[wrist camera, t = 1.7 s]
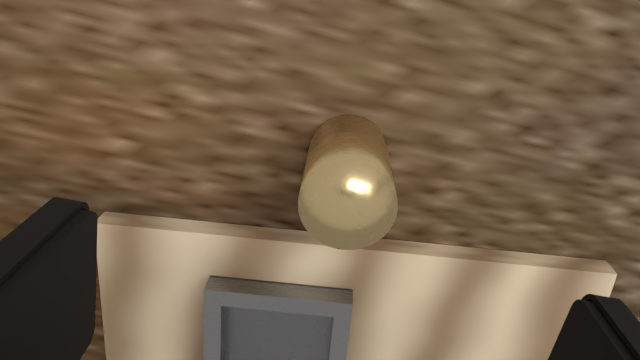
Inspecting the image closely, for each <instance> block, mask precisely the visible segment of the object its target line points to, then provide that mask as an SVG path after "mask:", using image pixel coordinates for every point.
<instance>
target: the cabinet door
mask: <svg viewBox="0 0 640 360" xmlns="http://www.w3.org/2000/svg"><path fill="white" fill-rule="evenodd" d="M97 220H98V223H97V263H98V274H99V285H100V296H101V307H102V318H103V329H104V340H105V351H106V360H548V358H549V356H550V353H551V351H552V349H553V346H554V344H555V342H556V340H557V337H558V335H559V333H560V331H561V328H562V326H563V324H564V321H565V319H566V317H567V315H568V312H569V310H570V308H571V306H572V304H573V302H574V301H575V300H578V299H580V300H581V299H582V298H583V297H584V296H585V295H587V294H594V295H599V296H605V297H610V294H611V291H612V288H613V286H614V283H615V280H616V277H617V273H616V272H615V271H614V270H613V268H612V267H611V266H610V265H609V264H608V263H607V261H606V260H596V259H586V258H575V257H565V256H555V255H545V254H534V253H524V252H514V251H504V250H493V249H483V248H473V247H463V246H452V245H442V244H432V243H422V242H411V241H401V240H391V239H380V240H379V241H377V242H376V243H374V244H372V245H370V246H367V247H364V248H361V249H356V250H341V249H335V248H332V247H329V246H326V245H324V244H322V243H321V242H319V241H317V240H316V239H315V238H313V237H312V236H311V235H310V234H309V233H308V231H299V230H289V229H278V228H268V227H258V226H248V225H237V224H227V223H217V222H207V221H196V220H186V219H176V218H166V217H155V216H145V215H135V214H125V213H114V212H104V213H103V214H102V215H101V216H100V217H99V218H98V219H97Z"/></svg>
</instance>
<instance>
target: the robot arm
mask: <svg viewBox="0 0 640 360" xmlns="http://www.w3.org/2000/svg"><path fill="white" fill-rule="evenodd" d="M97 223H98V220H97V214H96V213H95V212H93V211H89V207H88V204H87V203H85V202H80V201H74V200H69V199H63V198H58V197H54V198H52V199H51V200H50V201H48V202H47V203H46V204H45V205H44V206H42V207H41V208H40V209H39V210H37V211H36V212H35V213H34V214H33V215H31V216H30V217H29V218H28V219H27V220H25V221H24V222H23V223H22V224H20V225H19V226H18V227H17V228H16V229H14V230H13V231H12V232H11V233H10V234H8V235H7V236H6V237H5V238H4V239H2V240H1V241H0V360H80V358H81V357H82V355H83V354H84V352H85V351H86V349H87V348H88V346H89V344H90V342H91V340H92V337H93V334H94V329H95V302H96V263H97ZM548 360H640V322H639V321H638V320H637V319H636V317H635V316H634V315H633V314H632V313H631V311H630V310H629V309H628V308H627V306H626V305H625V304H624V303H623V302H622V301H621V300H620V299H616V298H610V297H605V296H599V295H594V294H587V295H585V296H584V297H583V298H582V299H581V300H580V299H578V300H575V301H574V302H573V304H572V306H571V308H570V310H569V312H568V315H567V317H566V319H565V321H564V324H563V326H562V328H561V331H560V333H559V335H558V337H557V340H556V342H555V344H554V346H553V349H552V351H551V353H550V356H549V358H548Z"/></svg>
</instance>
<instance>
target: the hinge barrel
mask: <svg viewBox="0 0 640 360" xmlns="http://www.w3.org/2000/svg"><path fill="white" fill-rule="evenodd" d="M397 211H398V199H397V194H396V189H395V184H394V179H393V174H392V169H391V163H390V158H389V153H388V148H387V143H386V140H385V137H384V135H383V134H382V132H381V131H380V129H379V128H378V127H377V126H376V125H375V124H374V123H372V122H371V121H369V120H367V119H365V118H363V117H360V116H356V115H341V116H337V117H334V118H331V119H329V120H327V121H326V122H324V123H323V124H322V125H321V126H320V127H319V128H318V129H317V130H316V132H315V133H314V135H313V137H312V139H311V142H310V146H309V150H308V155H307V160H306V164H305V169H304V174H303V178H302V183H301V188H300V192H299V198H298V212H299V216H300V219H301V221H302V224H303V225H304V227H305V229H306V230H307V231H308V233H309V234H310V235H311V236H312V237H313V238H315V239H316V240H317V241H319V242H321V243H322V244H324V245H326V246H329V247H332V248H335V249H341V250H356V249H361V248H364V247H367V246H370V245H372V244H374V243H376V242H377V241H379V240H380V239H381V238H383V237H384V236H385V235H386V234H387V233H388V231H389V230H390V229H391V227H392V225H393V224H394V221H395V219H396V215H397Z"/></svg>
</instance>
